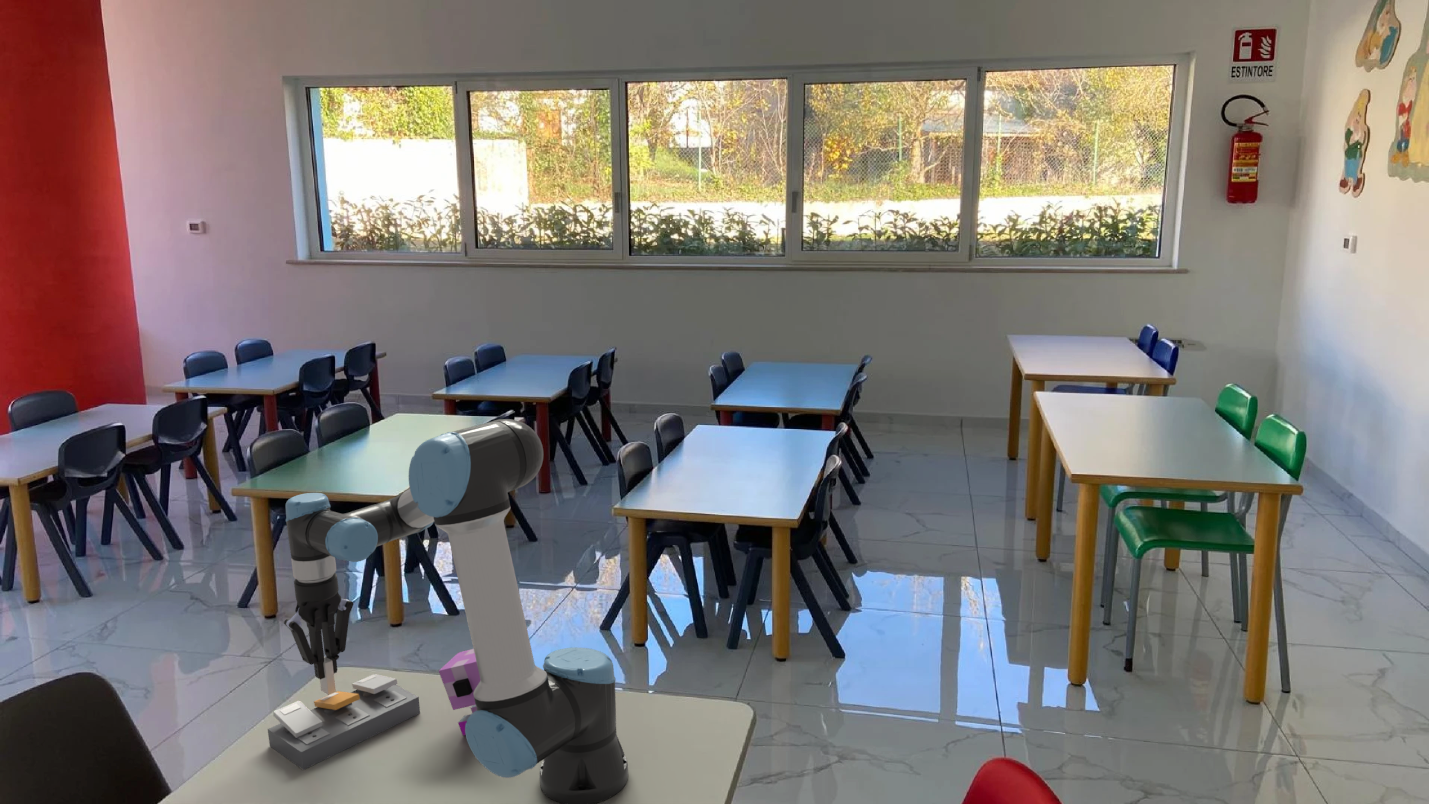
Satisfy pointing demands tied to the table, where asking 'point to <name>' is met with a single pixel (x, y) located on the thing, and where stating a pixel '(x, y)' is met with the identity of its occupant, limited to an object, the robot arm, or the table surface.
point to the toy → (461, 682)
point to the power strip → (345, 725)
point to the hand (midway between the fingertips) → (328, 690)
